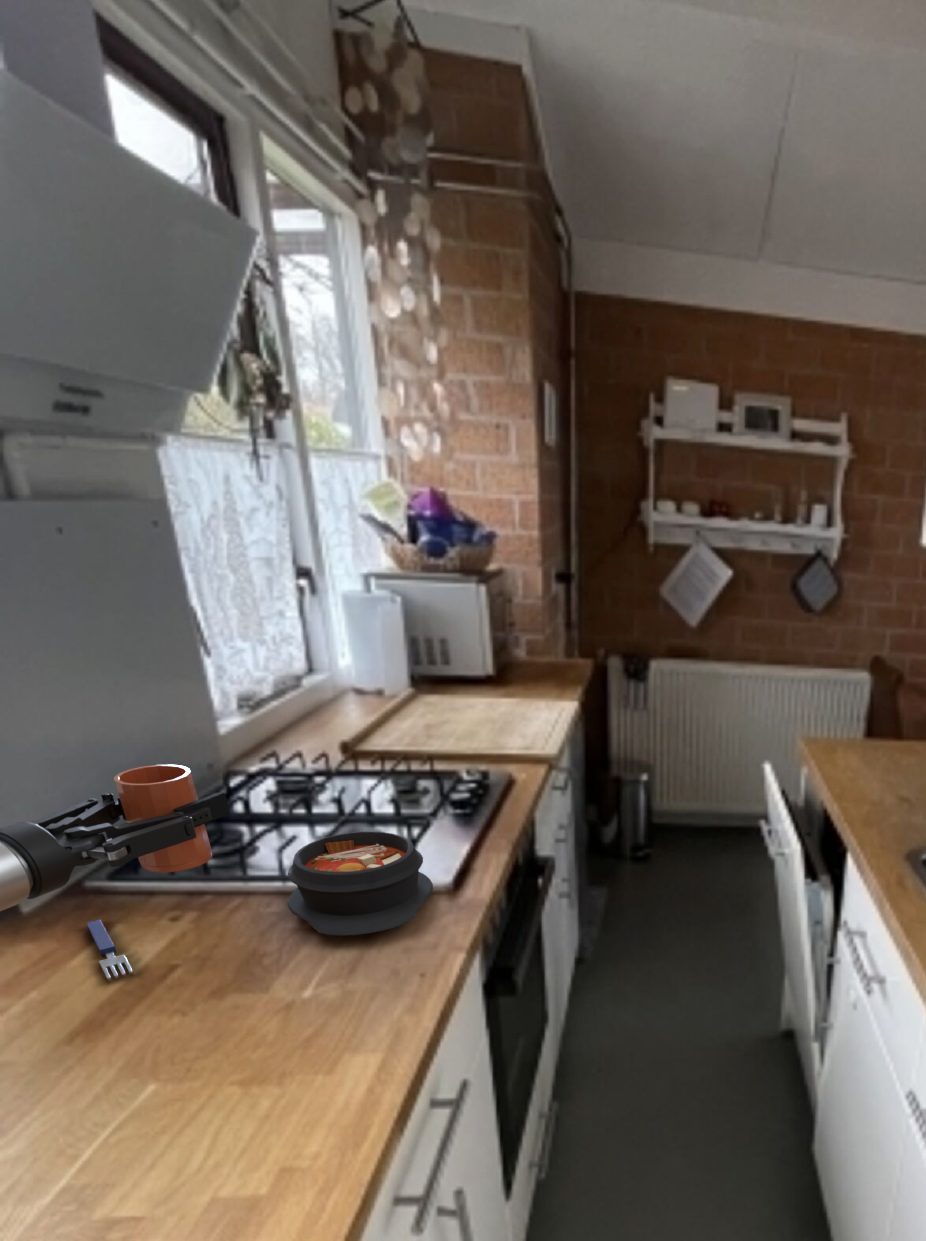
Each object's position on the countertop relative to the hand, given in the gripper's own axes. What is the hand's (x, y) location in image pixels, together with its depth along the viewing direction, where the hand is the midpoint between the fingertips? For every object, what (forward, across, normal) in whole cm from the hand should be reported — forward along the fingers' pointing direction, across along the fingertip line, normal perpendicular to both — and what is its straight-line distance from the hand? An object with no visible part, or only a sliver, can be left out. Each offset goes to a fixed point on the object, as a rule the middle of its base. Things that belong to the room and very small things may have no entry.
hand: (197, 797), depth 108 cm
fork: (-10, -9, -18) cm, 22 cm away
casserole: (+11, +12, -18) cm, 24 cm away
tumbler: (-5, 0, -6) cm, 8 cm away
